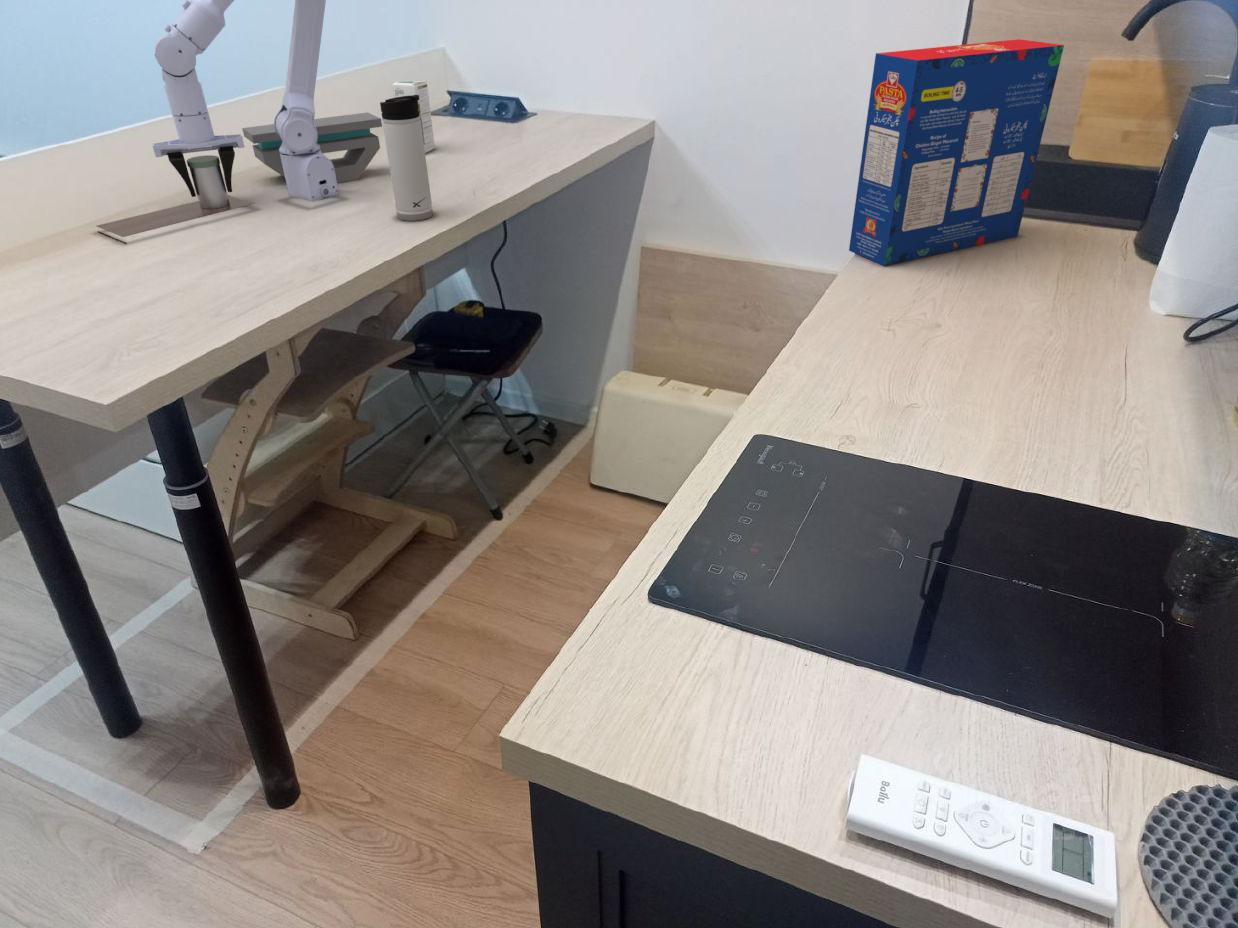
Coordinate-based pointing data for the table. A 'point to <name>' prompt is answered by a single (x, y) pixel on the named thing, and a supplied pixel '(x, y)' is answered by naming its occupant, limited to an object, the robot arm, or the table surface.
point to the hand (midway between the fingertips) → (211, 193)
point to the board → (166, 218)
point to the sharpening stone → (326, 143)
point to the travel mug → (407, 157)
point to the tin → (208, 181)
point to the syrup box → (424, 107)
